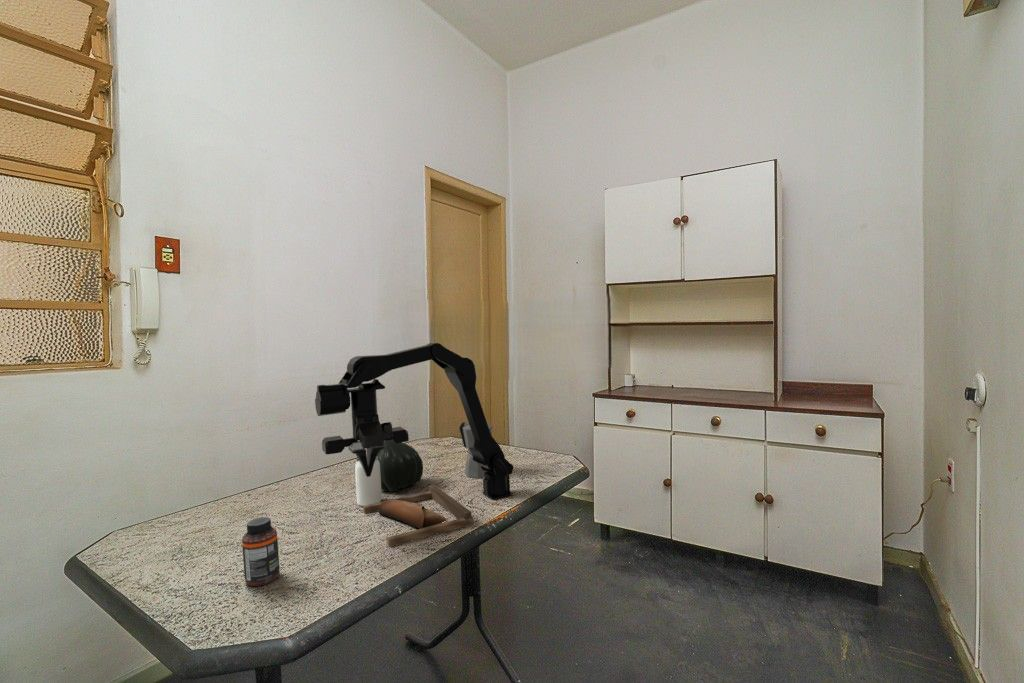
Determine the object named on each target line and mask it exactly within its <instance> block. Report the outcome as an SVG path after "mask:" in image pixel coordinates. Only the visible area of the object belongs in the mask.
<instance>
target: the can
mask: <svg viewBox="0 0 1024 683" xmlns="http://www.w3.org/2000/svg"><path fill="white" fill-rule="evenodd" d="M366 458H367V455H366ZM355 461H356V463H355V465H354V472H355V473H354V475H355V476H354V477H355V489H356V490H355V492H356V494H355V495H356V504H357V505H358V506H359V505H360V507H363V506H366V505H370V504H375V503H379V502H382V498H383V496H382V489H381V475H380V463H379V461H378V457H376V459H375V462H374V466H373V469H372V473H371V476H369V477H367V476H366V475H365V472H364V470H363V468H362V465H361V463H360V461H359V459H358V458H357V459H356V460H355Z"/></svg>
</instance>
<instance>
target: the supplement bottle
mask: <svg viewBox="0 0 1024 683" xmlns="http://www.w3.org/2000/svg"><path fill="white" fill-rule="evenodd" d="M271 521H272V520H271V518H270V517H267V516H261V517H256V518H253V519H250V520H248V522H247V523H246V530H247V531H246V533H244V535H243V536H242V539H241V543H242V544H241V547H242V557H243V558H242V559H243V573H244V574H243V575H244V581H245V584H246V585H248V586H250V587H258V586H264V585H267V584H269V583H271V582H273V581H274V580H276V579H277V578H279V575H280V572H281V571H280V556H279V543H278V542H279V541H278V540H279V539H278V532H277V531H278V530H277V529H276V528H275V527H273V526H272V522H271Z"/></svg>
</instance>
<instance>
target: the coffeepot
mask: <svg viewBox="0 0 1024 683" xmlns="http://www.w3.org/2000/svg"><path fill="white" fill-rule="evenodd" d="M487 424H488V427H489V430H490V433H491V435H492V434H493V425H491V424H489V423H487ZM458 428H459V432H460V437H461V439H462V444H463V447H464V448H465V449H467V454H466V462H465V467H464V468H465V470H464V475H465V476H466V477H467V478H471V479H484V478H483V477H484V473H485V472H486V471H483V470H482V469H481V466H480V465H479V464H477V462H475V461H473V455H472V453H471V451H470V447H473V446H474V437H473V434H472V431H471V428H470V425H469V422H464V421H463V422H461V424H460V425H459V427H458ZM492 436H493V435H492Z"/></svg>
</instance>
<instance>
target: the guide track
mask: <svg viewBox="0 0 1024 683" xmlns="http://www.w3.org/2000/svg"><path fill="white" fill-rule="evenodd" d="M428 489H429V491H424V492H421V493H416V494H412V495H407V496H403V497H399V498H393V499H392V500H402V501H407V502H413V503H417V502H416V501H418V502H421V501H420V500H422V501H426V500H430V499H429V498H431V499H432V500H433V499H434V500H435V501H434V500H433V501H434V502H435V503H437V504H438V503H439V504H440V505H439V504H438V505H439V506H441V507H442V506H443V507H444V508H445V509H444V508H443V507H442V508H443V509H444V510H445V511H447V510H448V511H449V512H450V513H451V515H452V514H453V515H454V516H455V517H456V518H455V517H454V516H453V515H452V516H453V517H454V518H455V519H452V520H448V521H447V522H444V523H441V524H437V525H433V526H429V527H425V528H422V529H420V528H418V529H414V530H410V531H407V532H403V533H399V534H396V535H391V536H388V537H386V543H387V544H388V545H387V544H386V545H387V546H388V548H390V546H391V547H393V546H394V545H395V546H397V545H398V546H399V545H401V543H402V544H405V542H406V543H409V542H413V541H417V540H420V539H423V537H424V538H427V536H428V537H431V536H434V535H433V534H435V535H438V534H437V533H439V534H442V532H443V533H446V532H450V531H454V530H456V528H457V529H461V528H463V527H464V526H465V527H467V525H468V526H471V525H474V524H475V520H474V518H475V517H473V516H472V511H471V510H469V509H468V508H467V507H465V505H462V504H461V503H460V502H459V501H457V500H456V499H454V498H453V497H452V496H450V495H449V494H448V493H446V492H445V491H444V490H442V489H440V487H438V486H437V485H435V484H432V485H429V488H428ZM425 499H426V500H425ZM382 502H383V501H380V502H379V503H375V504H370V505H366V506H362V509H363V511H362V512H363V513H364V514H365V513H366V514H368V513H369V514H370V513H373V512H379V511H378V510H379V507H380V505H381V504H382ZM448 511H447V512H448ZM449 512H448V513H449ZM450 513H449V514H450ZM453 529H454V530H453ZM449 530H450V531H449ZM430 535H431V536H430ZM416 539H417V540H416ZM412 540H413V541H412Z"/></svg>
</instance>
